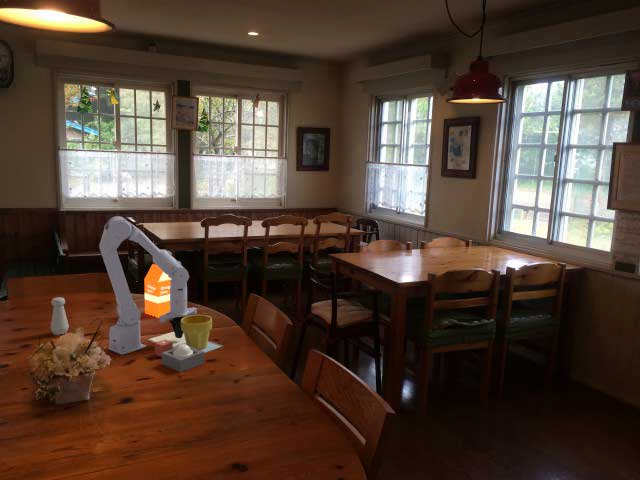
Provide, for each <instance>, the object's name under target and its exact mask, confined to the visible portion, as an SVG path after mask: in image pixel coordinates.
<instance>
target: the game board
mask: <svg viewBox="0 0 640 480" xmlns="http://www.w3.org/2000/svg"><path fill="white" fill-rule="evenodd" d="M162 340H168V341H170V342H173V349H174V348H177V347H178V346H179V345H182V344H185V345H187V344H186V340H185V336H184V332H183V336H182V338H176V337H175V333H174V331H171V332H169V333H168V332H167V333H164V334H162V335H161V334H160V335H159V336H154V337H151V338H149V339H146V341H147V342H150V343H153V344H155V342H158V341H162ZM222 347H224V345H222V344H219V343H217V342H214V341H211V340H208V343H207V347H205V348H203V349H199V350H201V351H203V352H204V354H206V353H208V352H211V351H214V350H217V349H220V348H222Z"/></svg>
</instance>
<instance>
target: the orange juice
mask: <svg viewBox="0 0 640 480" xmlns="http://www.w3.org/2000/svg"><path fill="white" fill-rule="evenodd" d="M143 280H144V314H145V315H148V314H149V315H148V316H151V315H152V317H154V316H155V317H154V318H157V319H159V316H161V315H164V314H166V313H168V312H170V280H172V279H171V278H169V277H168V275H167V274H165V273H164V272H163V271H162V270H161V269H160V268H159V267H158V266H157V265H156V264H155V263H152V264H151V266H150V268H149V270H148V272H147V274H146V275H145V277H144V279H143Z"/></svg>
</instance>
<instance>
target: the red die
mask: <svg viewBox="0 0 640 480" xmlns="http://www.w3.org/2000/svg"><path fill="white" fill-rule="evenodd" d="M171 349H173V342H170V341H168V340H162V341H158V342H155V343H154V355H156V356H158V357H160V358H162V352H165V351H168V350H171Z"/></svg>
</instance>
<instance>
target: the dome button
mask: <svg viewBox="0 0 640 480" xmlns="http://www.w3.org/2000/svg"><path fill="white" fill-rule="evenodd" d="M192 354H193V351H192V350H191V349H190V347H189V346H188V345H185V344H182V345H179V346H178V347H177V348H176V350H175V351H174V352H173V355H175V356H177V357H180V358H183V357H186V356H189V355H192Z"/></svg>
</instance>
